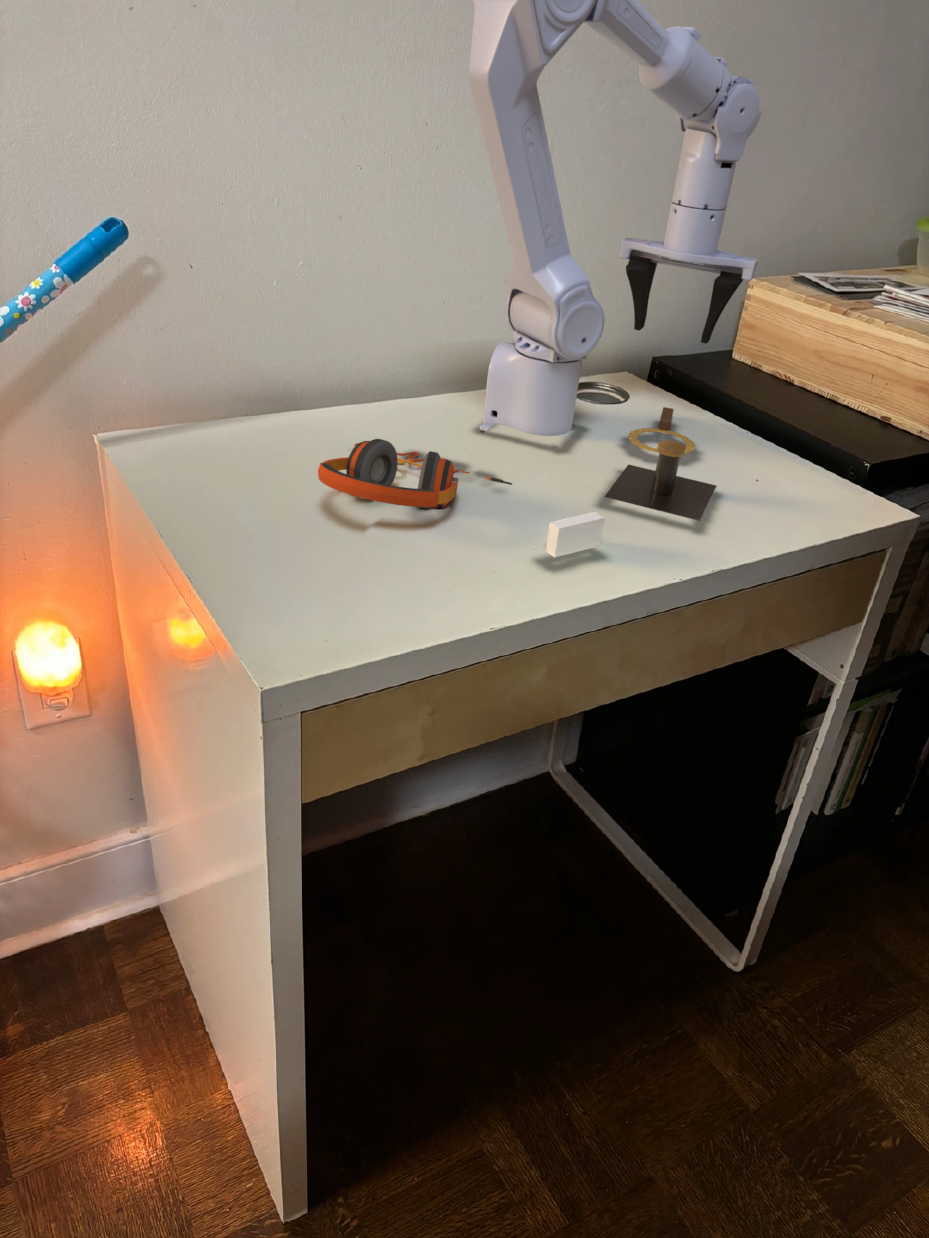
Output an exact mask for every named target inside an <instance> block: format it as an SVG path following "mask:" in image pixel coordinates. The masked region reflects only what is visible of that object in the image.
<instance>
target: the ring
mask: <svg viewBox="0 0 929 1238" xmlns="http://www.w3.org/2000/svg"><path fill="white" fill-rule="evenodd" d="M674 410H675V409H674V408H670V407H665V406H664V407H662V410H661V415H660V420H659V425H658V428H655V427H651V428H649V427H648V428H647V427H646V428H644V427H643V428H642V427H641V428H637V429H634V430H631V431H630V432H629V433H628V436H627V439H628V440H629V441H630V442H631V443H632V444H633V445H634V446H636V447H638V448H640V449H643V450H646V451H648V452H652V453H656V454H657V453H658V454H659V452H658V451H657V448H654V447H651V446H649V445H646V444H644V443H642V442H641V441H640V440H639V439H638V437H639V435H642V434H644V433H656V432H657V433H662V434H667V435H671V436H674V437H676V438H679V439H681V441H683V442H684V443H685V447H686V450H685V454H684V455H686V454H689V453H692V452H694V450H695V449H696V443H695V441H693V440H692V439H691V438H689V437H688V436H686V435H684V434H682V433H679V432H676V431H672V430H671V425H672V420H673V415H674Z"/></svg>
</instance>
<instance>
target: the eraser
mask: <svg viewBox="0 0 929 1238" xmlns="http://www.w3.org/2000/svg"><path fill="white" fill-rule="evenodd" d="M605 518H606V517H605V516H603V515H602V514H600V513H598V512H597V511H593V512H587V513H583V514H579V515H574V516H571V517H566V518H562V519H558V520H553V521H550V522H549V526H548V532H547V539H546V545H545V552H546V553H548V554H549V555H550V556H552V557H553V558H558V557H561V556H566V555H570V554H574V553H577V552H582V551H586V550H590V549H594V548H597V547H598V548H599V547H601V542H602V541H601V540H602V535H603V530H604V524H605V520H606V519H605Z"/></svg>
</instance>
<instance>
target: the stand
mask: <svg viewBox="0 0 929 1238" xmlns="http://www.w3.org/2000/svg"><path fill="white" fill-rule="evenodd" d="M656 449H657V451H658V452H659V453H658V456H657V462H656V467H655V469H649V468H645V467H641V466H637V465H633V464H627V465H626V467H625V468H624V469H623V471H622V472H621V474H620V475H619V476H618V477H617V478H616V480H615V482H614V483H613V484H612V486H611V487H610V488H609V490H608V491H607V492H606V494H605V495H604V498H606V499H607V498H608V499H611V500H614V501H619V502H623V503H626V504H631V505H634V506H639V507H643V508H647V509H650V510H655V511H659V512H662V513H666V514H669V515H670V514H671V515H675V516H678V517H682V518H686V519H690V520H694V521H698V522H699V521H700V520H701V519H702V516H703V515H704V512H705V510H706V508H707V506H708V504H709V502H710V501H711V498H712V496H713V494H714V492H715V490H716V488H717V485H716V484H712V483H708V482H704V481H700V480H696V479H692V478H686V477H683V476H679V475H677V474H678V471H679V465H680V461H681V457H683V456H684V455H686V454H685V450H686V445H684V444H682V443H681V442H678V441H674V440H660V441H658V443H657V446H656Z"/></svg>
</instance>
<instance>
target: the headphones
mask: <svg viewBox="0 0 929 1238" xmlns="http://www.w3.org/2000/svg"><path fill="white" fill-rule="evenodd" d="M419 455H420V453H419V452H418V451H412V452H405V453H404V452H403V453H399V452H397V451H396V448H395V446H394V445H393V443H392V442H390V441H389V440H385V439H382V438H374V439H371V440H363V441H361V442H357V443H354V444H353V448H352V450H351V452H350V453H349V456H347V457H338V458H331V459H327V460H325V461H323V462H320V463H319V467H318V468H317V476H318V477H317V478H318V480H319V481H320V483H322V484H323V485H325V486H327V487H329V488H331V489H333V490H335V491H337V492H338V491H339V492H341V493H343V494H347V495H349V496H352V497H353V496H354V497H357V498H361V499H365V500H369V501H374V502H377V503H383V504H390V505H395V506H396V505H397V506H402V507H403V506H404V507H413V508H418V509H421V510H430V509H433V508H434V509H444V508H446V507H447V506H448V504H449V503H450V502H451V501H452V500H453V499H454V497H455V496H456V495H457V491H458V486H459V477H456V476H455V477H454V475H455V473H457V472H458V471H459V470H460V469H459V468H457V469H455V465H454V464H453V461H451V460H449V459H447V458H442V457H441V455H440V454H439V452H437V451H432V450H429V451H428V452H427V453H426V454H425V456H424V457H423V458H421V459H415V458H416V457H418V456H419ZM404 456H405V457H406V456H408V460H407V459H403V458H400V457H404ZM420 463H422V464H420ZM406 464H410V465H413V466H416V467H419V468H421V469H420V473H419V478H418V479H419V480H418V485H417V488H415V487H405V486H399V485H398V486H397V485H392V484H393V483H394V481H395V478H396V476H397V472H398V466H405V465H406ZM342 471H345V473H344V472H342ZM461 472H462V474H469V473H470V471H465V470H464V469H462V470H461ZM485 478H486V479H487V480H490V481H491V482H496V483H500V484H506V485H509V486H510V485H511V486H512V485H513V483H512V482H510V481H505V480H504V479H501V478H497V477H489V476H487V475H485Z"/></svg>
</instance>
